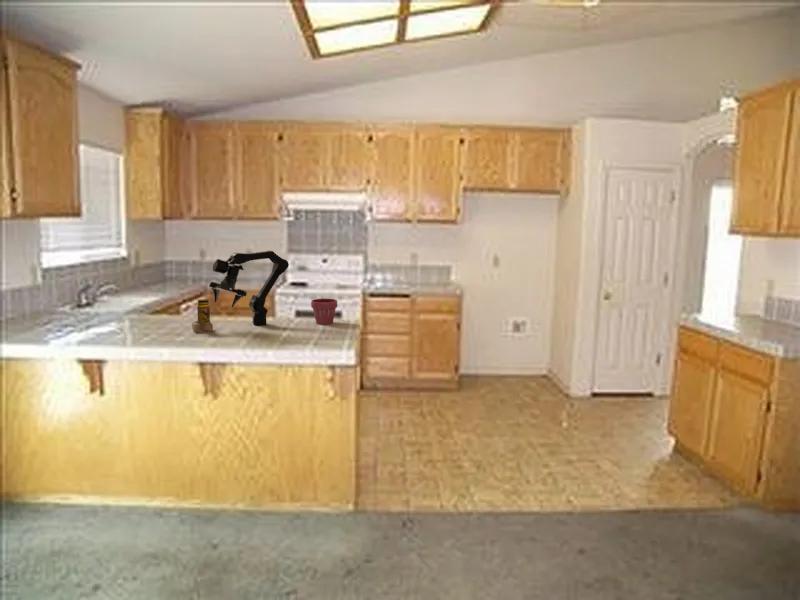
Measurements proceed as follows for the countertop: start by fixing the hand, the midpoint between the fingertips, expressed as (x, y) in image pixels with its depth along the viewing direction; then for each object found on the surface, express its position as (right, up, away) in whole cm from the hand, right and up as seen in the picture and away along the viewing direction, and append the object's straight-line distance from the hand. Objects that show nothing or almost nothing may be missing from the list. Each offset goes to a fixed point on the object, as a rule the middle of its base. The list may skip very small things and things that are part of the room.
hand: (223, 304), depth 340 cm
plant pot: (+51, -10, +18) cm, 55 cm away
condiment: (-9, -9, -6) cm, 14 cm away
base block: (-10, -13, -5) cm, 17 cm away
